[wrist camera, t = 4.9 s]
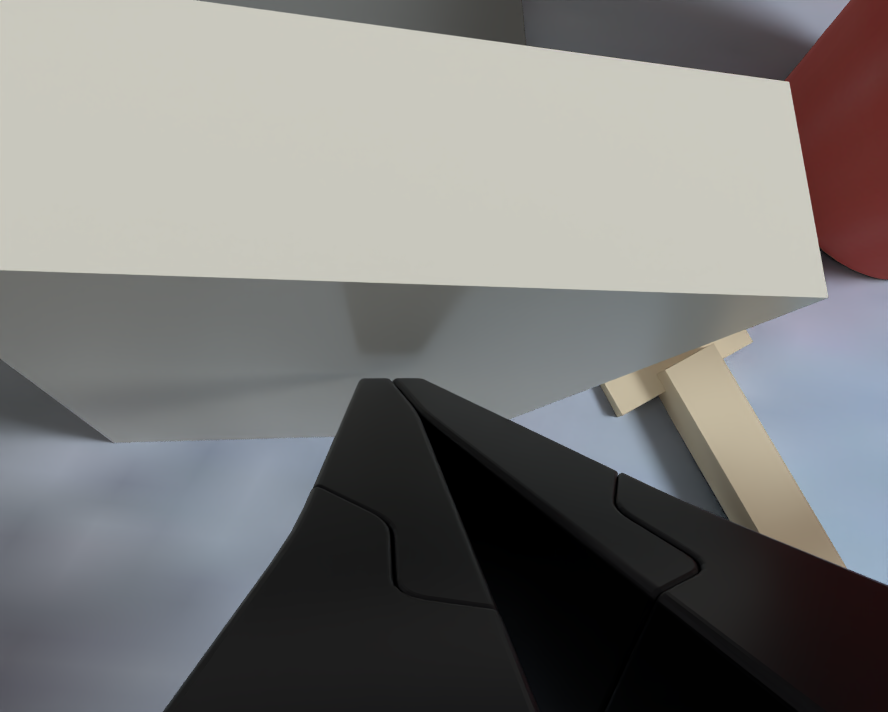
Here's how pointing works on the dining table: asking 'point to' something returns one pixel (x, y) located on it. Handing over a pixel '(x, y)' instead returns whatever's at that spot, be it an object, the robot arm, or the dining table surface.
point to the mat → (413, 15)
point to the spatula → (727, 442)
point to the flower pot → (847, 135)
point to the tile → (369, 215)
